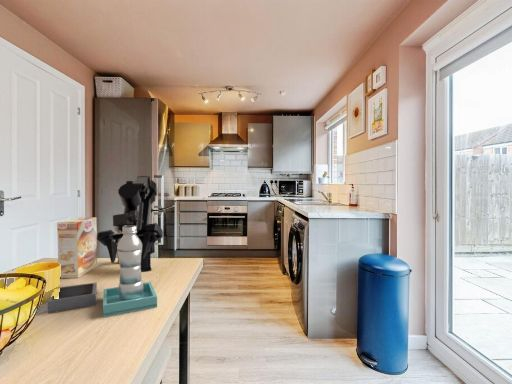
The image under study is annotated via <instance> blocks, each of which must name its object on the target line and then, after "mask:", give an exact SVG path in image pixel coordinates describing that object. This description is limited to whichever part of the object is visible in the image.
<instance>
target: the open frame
mask: <svg viewBox="0 0 512 384" xmlns="http://www.w3.org/2000/svg"><path fill="white" fill-rule="evenodd" d="M97 294H98V282H97V281H96V282H89V283H83V284H75V285H74V284H73V285H68V286H67V285H66V286H61V287H60V292H59V299H54V296H52V297H50V296H49V297H50V298H48V300H47V301H46V302H47V304H46V305H47V314H52V313H58V312H63V311H70V310H76V309H77V310H78V309H82V308H87V307H88V308H89V307H93V306H96V304H97V296H98V295H97Z"/></svg>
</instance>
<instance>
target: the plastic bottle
mask: <svg viewBox="0 0 512 384" xmlns="http://www.w3.org/2000/svg"><path fill="white" fill-rule="evenodd" d="M136 233H137V226H135V225H130V226H123V227H122V234H123V237H122V238H121V239H120V241H119V243H118V245H117V250H118V256H119V263H118V264H119V282H118V286H117V287H118V294H119V297H120V298H121V299H122V300H132V299H137V298H139V297H140V296H141V295H142V293H143V288H144V287H143V283H144V282H143V278H142V277H143V276H142V271H141V265H140V264H141V253H142V242H141V240H140V239H139V238H138V236H137V235H136Z"/></svg>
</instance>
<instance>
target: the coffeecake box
mask: <svg viewBox="0 0 512 384" xmlns="http://www.w3.org/2000/svg"><path fill="white" fill-rule="evenodd" d="M97 223H98V222H97V217H95V216H93V217H91V216H89V217H87V216H86V217H85V216H84V217H76V218H71V219H67V220H63V221H59V222H58V221H57V223H56V225H57V226H56V227H57V262H58V263H60V264H61V278H60V279H79V278H80V277H82V276H84V275H85V274H87V273H88V272H90V271H91V270H93V269H95V268H97V267H98V240H97V234H98V229H97V228H98V227H97V225H98V224H97ZM58 263H57V264H58Z"/></svg>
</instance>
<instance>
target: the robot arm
mask: <svg viewBox="0 0 512 384" xmlns="http://www.w3.org/2000/svg"><path fill="white" fill-rule="evenodd" d="M117 193H118V196H119V198H120V200H121V204H122V205H123V206H124V210H123V213H121V214H120V213H119V214H118V213H117V214H113V215H112V227H115V226H117V227H118V230H121V233H117V232H116V233H115V232H114V231H113V230H111V229H107V230H102V231H101V230H100V231H99V232H97V242H98V241H99V243H101V244H102V245H103V246H105V247H106V248H107V251H108V255H109V260H110V262H111V264H115V261H116V260H117V259H116V258H117V243H118V239H121V238H122V237H123V234H122V227H123V226H130V225H135V226H137V233H136V235H137V236H138V238H139V239H140V240H141V242H142V253H141V264H140V265H141V272H145V271H146V272H147V271H148V272H149V271H152V266H151V255H152V254H154V253H156V249H155V243H156V242H157V241H159V239H162V238H163V237H164V232H163V228H162V227H161V226H160V225H159V224H158V223H157V222H155V223H154V222H153V223H150V215H151V214H150V213H151V207H152V206H151V205H152V204H153V203H154V202H156V199H157V198H156V197H158V187H157V183H156V182H155V181H154V180H152V177H151V176H149V175H138V176H136V180H135V181H133V180H127V181H125V183H124V184H123V185H121V186H120V187H119V189H118V192H117Z"/></svg>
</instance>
